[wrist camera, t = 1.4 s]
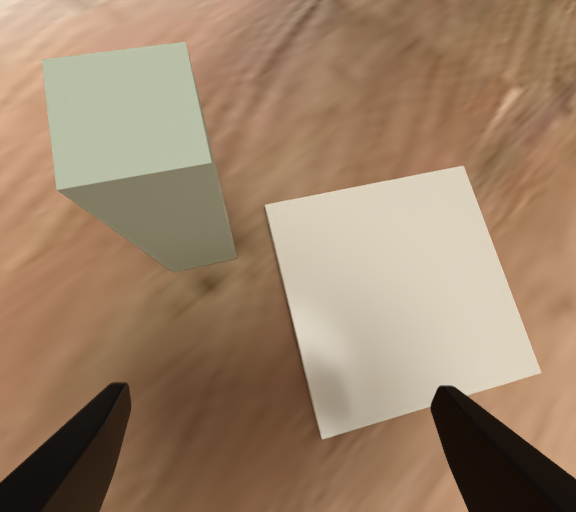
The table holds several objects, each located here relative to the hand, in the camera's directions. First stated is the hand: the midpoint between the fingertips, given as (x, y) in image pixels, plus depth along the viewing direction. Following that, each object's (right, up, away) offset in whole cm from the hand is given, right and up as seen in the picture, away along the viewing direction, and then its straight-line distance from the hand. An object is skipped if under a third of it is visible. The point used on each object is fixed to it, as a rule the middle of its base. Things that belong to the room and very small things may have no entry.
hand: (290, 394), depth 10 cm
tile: (+8, +2, +15) cm, 17 cm away
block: (-6, +6, +14) cm, 17 cm away
